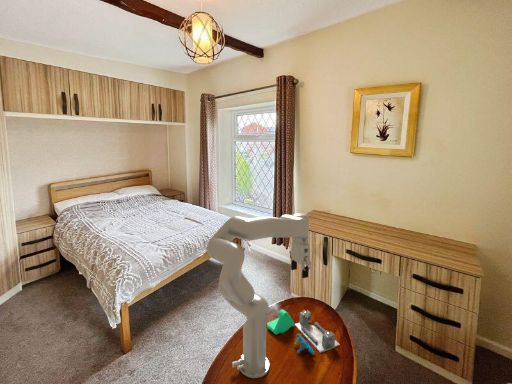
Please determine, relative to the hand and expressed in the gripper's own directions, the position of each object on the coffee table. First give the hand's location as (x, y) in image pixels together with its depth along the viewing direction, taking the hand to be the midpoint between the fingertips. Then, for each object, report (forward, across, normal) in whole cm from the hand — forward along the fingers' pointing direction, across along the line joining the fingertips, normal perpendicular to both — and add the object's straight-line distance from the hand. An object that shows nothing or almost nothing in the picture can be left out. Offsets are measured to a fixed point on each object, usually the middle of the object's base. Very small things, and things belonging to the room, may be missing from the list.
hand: (299, 273), depth 128 cm
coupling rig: (+30, -6, -6) cm, 32 cm away
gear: (+32, -13, +3) cm, 34 cm away
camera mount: (+31, +6, +7) cm, 32 cm away
